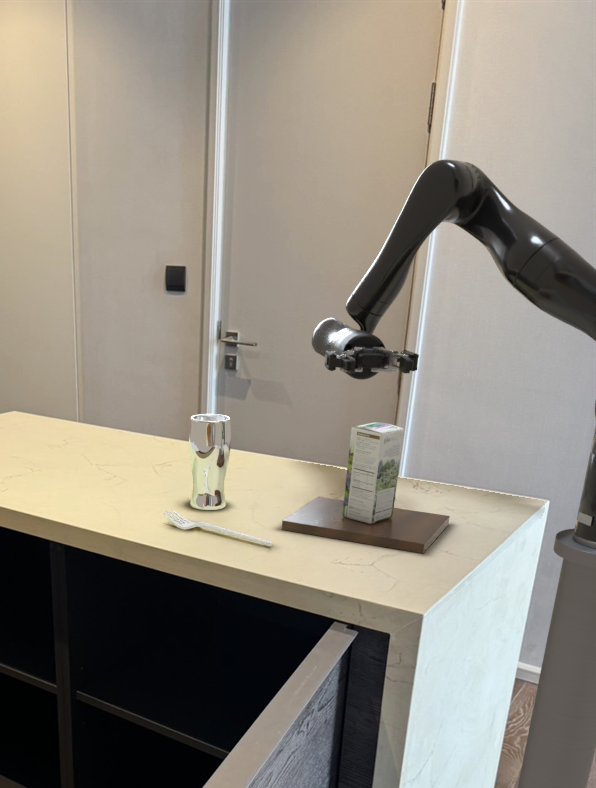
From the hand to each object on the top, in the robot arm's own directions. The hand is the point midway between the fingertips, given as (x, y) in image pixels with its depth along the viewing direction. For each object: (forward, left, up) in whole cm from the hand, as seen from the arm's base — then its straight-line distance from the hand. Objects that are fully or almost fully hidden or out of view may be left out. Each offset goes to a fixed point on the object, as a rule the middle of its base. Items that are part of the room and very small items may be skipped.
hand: (380, 366), depth 133 cm
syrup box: (-2, +6, -23) cm, 24 cm away
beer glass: (+25, +8, -24) cm, 36 cm away
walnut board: (-2, +6, -24) cm, 25 cm away
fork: (+17, +22, -24) cm, 36 cm away
